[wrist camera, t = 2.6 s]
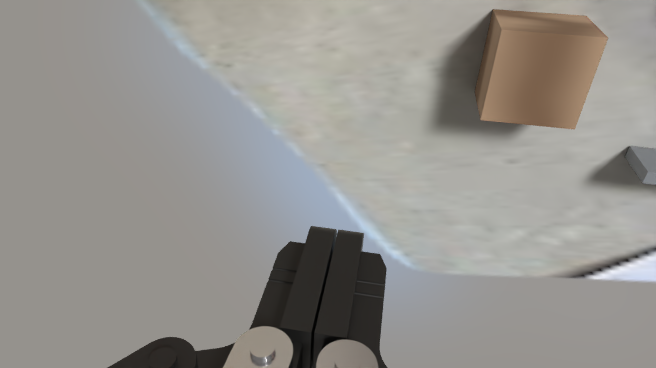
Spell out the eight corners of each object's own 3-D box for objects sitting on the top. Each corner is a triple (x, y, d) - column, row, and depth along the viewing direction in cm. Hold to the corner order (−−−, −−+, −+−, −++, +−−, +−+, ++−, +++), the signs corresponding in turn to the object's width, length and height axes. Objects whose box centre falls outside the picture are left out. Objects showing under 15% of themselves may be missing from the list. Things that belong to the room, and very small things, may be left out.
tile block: (474, 91, 30) (480, 119, 26) (492, 8, 27) (501, 29, 24) (558, 98, 29) (574, 129, 26) (585, 15, 26) (608, 37, 23)
